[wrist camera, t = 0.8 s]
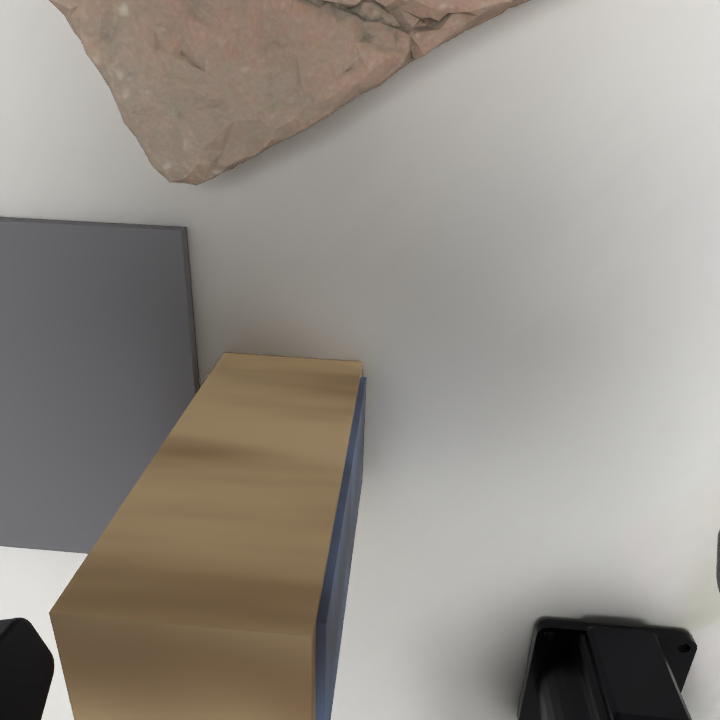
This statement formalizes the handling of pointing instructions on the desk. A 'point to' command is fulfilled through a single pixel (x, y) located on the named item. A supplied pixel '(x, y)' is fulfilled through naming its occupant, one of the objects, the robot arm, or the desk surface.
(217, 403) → the oak block
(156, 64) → the brick
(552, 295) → the desk surface
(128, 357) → the mat
